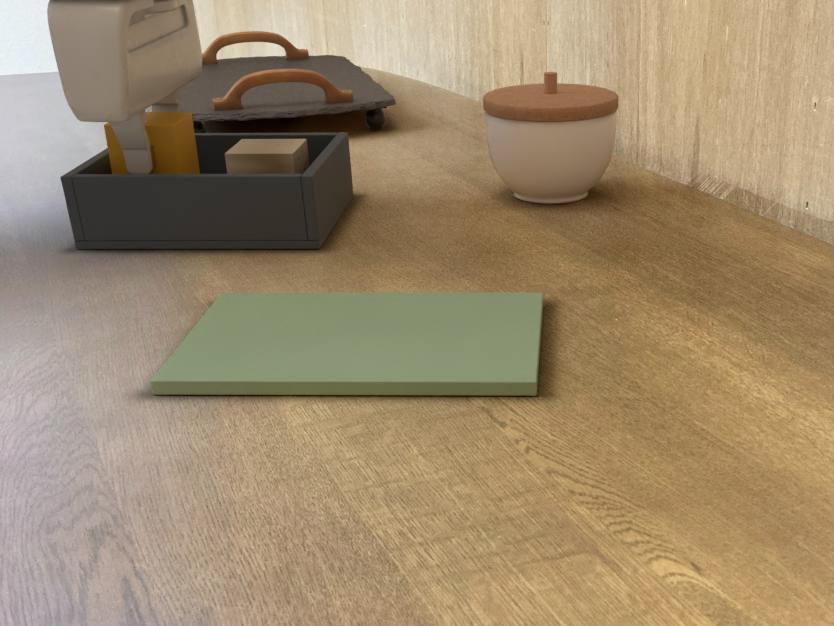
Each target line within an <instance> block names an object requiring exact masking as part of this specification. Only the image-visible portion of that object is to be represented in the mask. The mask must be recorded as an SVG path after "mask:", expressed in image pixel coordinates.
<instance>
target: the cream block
mask: <svg viewBox="0 0 834 626" xmlns="http://www.w3.org/2000/svg"><path fill="white" fill-rule="evenodd" d="M225 161H226V167H227V174H302V175H303V174H304V172H305V171H306V170H307V169H308V168H309V167H310V166H309V157H308V148H307V139H241V140H240V141H239V142H238V143H237V144H235V145H234V146H233V147H232V148H231V149H229V150H228V151H227V152H226V153H225Z"/></svg>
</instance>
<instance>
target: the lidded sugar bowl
mask: <svg viewBox="0 0 834 626" xmlns="http://www.w3.org/2000/svg"><path fill="white" fill-rule="evenodd" d="M482 106H483V111H484V124H485V125H484V126H485V136H486V142H487V149H488V153H489V157H490V161H491V163H492V165H493V168H494V170H495V172H496V173H497V175H498V177H499V178H500V179H501V180H502V182H503V183H504V184H505V185H506V186H507V187H508V188H509V189H510V190H512V191H513V195H514V197H515V198H516V199H518V200H520V201H523V202H527V203H535V204H566V203H572V202H577V201H580V200H583V199H585V198H587V197H588V195H589V191H590V190H591V189H592V188H593V187H594V186H595V185H596V184H597V183H598V182H599V181H600V180H601V178H602V177H603V176H604V174H605V173H606V170H607V169H608V167H609V164H610V162H611V160H612V156H613V153H614V149H615V148H614V147H615V141H616V135H617V134H616V133H617V111H618V110H619V95H618V93H617V92H616V91H614V90H611V89H609V88H605V87H601V86H596V85H589V84H581V83H580V84H579V83H562V82H561V83H559V82H558V72H557V71H544V72H543V83H529V84H528V83H527V84H526V83H525V84H517V85H516V84H515V85H509V86H504V87H499V88H496V89H493V90H490V91H488V92H486V93H485V94H484V95H483V97H482Z"/></svg>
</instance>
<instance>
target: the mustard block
mask: <svg viewBox="0 0 834 626" xmlns="http://www.w3.org/2000/svg"><path fill="white" fill-rule="evenodd" d="M145 113H146V120H147V124H145V129H146V132H147V136H148V140H149V143H150V145H154V152H155V159H156V167H155V169H154V170H153V171H151V172H150V173H149V174H200V170H199V162H198V155H197V148H196V141H195V133H194V126H193V119H192V113H179V112H152V111H145ZM103 129H104V135H105V140H106V146H107V148H108V152H109V158H110V163H111V169H112V174H131V173H129V172H128V170H127V169H126V164H125V158H124V153H123V149H122V147H121V145H120V143H119V141H118V139H117V137H116V135H115V133H114V131H113V129H112V127H111V122H105V123H104V124H103Z"/></svg>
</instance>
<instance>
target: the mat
mask: <svg viewBox="0 0 834 626" xmlns="http://www.w3.org/2000/svg"><path fill="white" fill-rule="evenodd" d="M543 310H544V292H287V291H286V292H284V291H283V292H278V291H277V292H264V291H263V292H257V291H256V292H251V291H249V292H243V291H242V292H240V291H239V292H231V291H230V292H224V291H223V292H221V293H220V294H219V296H217V298H216V299H215V300H214V302H213V303H212V304H211V305H210V306H209V308H208V309H207V310H206V311H205V313H204V314H203V315H202V316H201V318H200V319H198V322H197V323H195V325H194V326H193V327H192V329H191V330H190V331H189V332H188V334H186V336H185V337H184V339H182V340H181V342H180V343H179V345H178V346H177V347H176V348H175V350H174V351H173V352H172V353H171V355H170V356H169V357H168V358H167V360H165V362H164V363H163V364H162V365H161V367H160V368H159V369H158V371H157V372H156V373H155V374H154V375H153V377H152V378H151V379H150V381H149V382H150V388H151V393H152V395H154V396H155V395H164V396H165V395H167V396H169V395H171V396H172V395H173V396H175V395H179V396H180V395H183V396H184V395H185V396H186V395H191V396H192V395H193V396H194V395H195V396H196V395H197V396H198V395H200V396H201V395H202V396H203V395H204V396H205V395H207V396H210V395H211V396H214V395H215V396H216V395H217V396H229V395H231V396H238V395H239V396H252V395H253V396H507V397H508V396H513V397H515V396H516V397H517V396H526V397H529V396H532V397H533V396H537V394H538V383H539V367H540V355H541V354H540V353H541V341H542V326H543V325H542V324H543V313H544V311H543Z"/></svg>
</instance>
